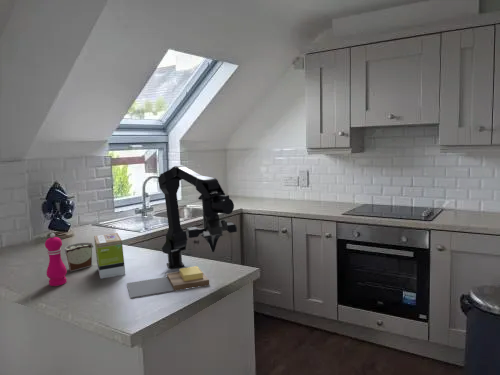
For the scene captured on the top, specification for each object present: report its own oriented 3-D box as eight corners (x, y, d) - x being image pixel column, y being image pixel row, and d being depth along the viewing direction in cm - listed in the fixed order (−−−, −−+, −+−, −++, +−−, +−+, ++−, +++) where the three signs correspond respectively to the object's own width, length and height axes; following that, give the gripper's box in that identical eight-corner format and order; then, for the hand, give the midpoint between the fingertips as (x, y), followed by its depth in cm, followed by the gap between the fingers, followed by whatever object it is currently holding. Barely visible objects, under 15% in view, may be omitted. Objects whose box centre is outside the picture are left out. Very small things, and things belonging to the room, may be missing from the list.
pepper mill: (70, 279, 173) (65, 230, 171) (63, 286, 166) (58, 234, 164) (52, 280, 173) (46, 231, 171) (44, 287, 166) (38, 236, 163)
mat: (127, 284, 164) (126, 283, 164) (166, 278, 169) (166, 276, 169) (130, 298, 149) (130, 297, 149) (174, 291, 154) (174, 290, 154)
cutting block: (167, 278, 169) (166, 273, 169) (199, 273, 173) (199, 268, 173) (173, 291, 155) (173, 285, 155) (209, 285, 159) (209, 279, 159)
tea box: (97, 269, 186) (93, 235, 184) (121, 265, 190) (118, 232, 188) (99, 279, 172) (96, 242, 170) (125, 274, 176) (122, 239, 174)
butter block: (179, 273, 167) (179, 268, 167) (197, 271, 170) (197, 266, 169) (184, 281, 159) (183, 275, 159) (203, 277, 161) (202, 272, 161)
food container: (89, 262, 196) (86, 240, 195) (95, 265, 192) (93, 242, 191) (61, 269, 188) (59, 247, 186) (67, 272, 183) (64, 249, 182)
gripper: (190, 218, 154) (193, 261, 156) (240, 212, 160) (242, 253, 162) (184, 213, 164) (187, 253, 166) (231, 207, 170) (233, 246, 172)
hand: (212, 251), depth 166 cm, fingers closed
